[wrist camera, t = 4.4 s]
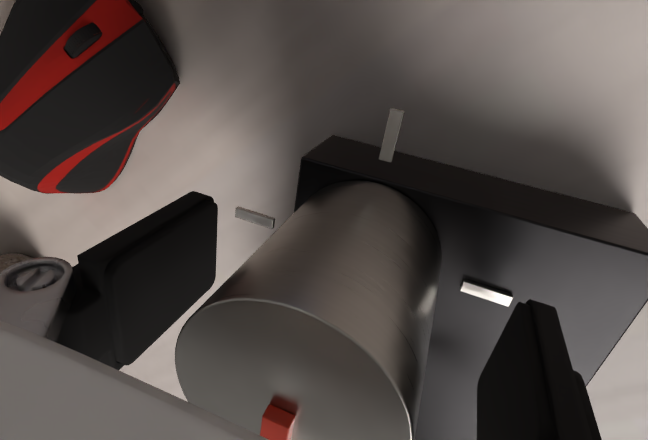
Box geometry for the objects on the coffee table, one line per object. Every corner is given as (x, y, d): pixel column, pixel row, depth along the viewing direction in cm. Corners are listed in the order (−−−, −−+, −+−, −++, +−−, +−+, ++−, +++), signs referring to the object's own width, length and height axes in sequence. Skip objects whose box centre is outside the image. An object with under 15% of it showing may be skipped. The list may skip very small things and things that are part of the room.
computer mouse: (211, 73, 15) (133, 87, 12) (90, 210, 21) (13, 246, 17) (97, -74, 14) (-24, -107, 11) (2, 111, 20) (-97, 128, 16)
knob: (302, 161, 12) (157, 271, 6) (464, 206, 11) (450, 382, 5) (285, 286, 14) (168, 443, 9) (417, 334, 13) (374, 546, 8)
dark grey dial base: (288, 65, 14) (242, 74, 11) (673, 151, 11) (735, 190, 9) (261, 318, 20) (227, 365, 17) (511, 416, 17) (517, 488, 14)
